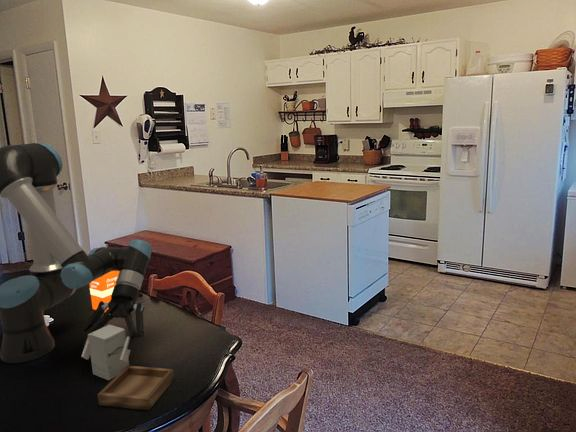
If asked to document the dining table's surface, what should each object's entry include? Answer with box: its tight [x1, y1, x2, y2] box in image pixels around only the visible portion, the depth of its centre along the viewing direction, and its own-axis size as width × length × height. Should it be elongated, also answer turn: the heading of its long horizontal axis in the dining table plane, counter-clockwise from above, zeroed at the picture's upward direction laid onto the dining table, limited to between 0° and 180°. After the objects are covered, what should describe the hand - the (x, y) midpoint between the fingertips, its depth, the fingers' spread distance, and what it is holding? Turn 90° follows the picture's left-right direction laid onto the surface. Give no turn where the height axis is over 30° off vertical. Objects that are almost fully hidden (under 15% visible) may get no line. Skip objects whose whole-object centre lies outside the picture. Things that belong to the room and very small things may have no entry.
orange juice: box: [88, 271, 120, 314], centre depth 177 cm, size 8×9×20 cm
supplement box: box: [88, 324, 130, 381], centre depth 131 cm, size 7×7×13 cm
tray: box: [97, 365, 175, 411], centre depth 121 cm, size 14×14×3 cm
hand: (103, 359), depth 128 cm, fingers open, 11 cm apart
